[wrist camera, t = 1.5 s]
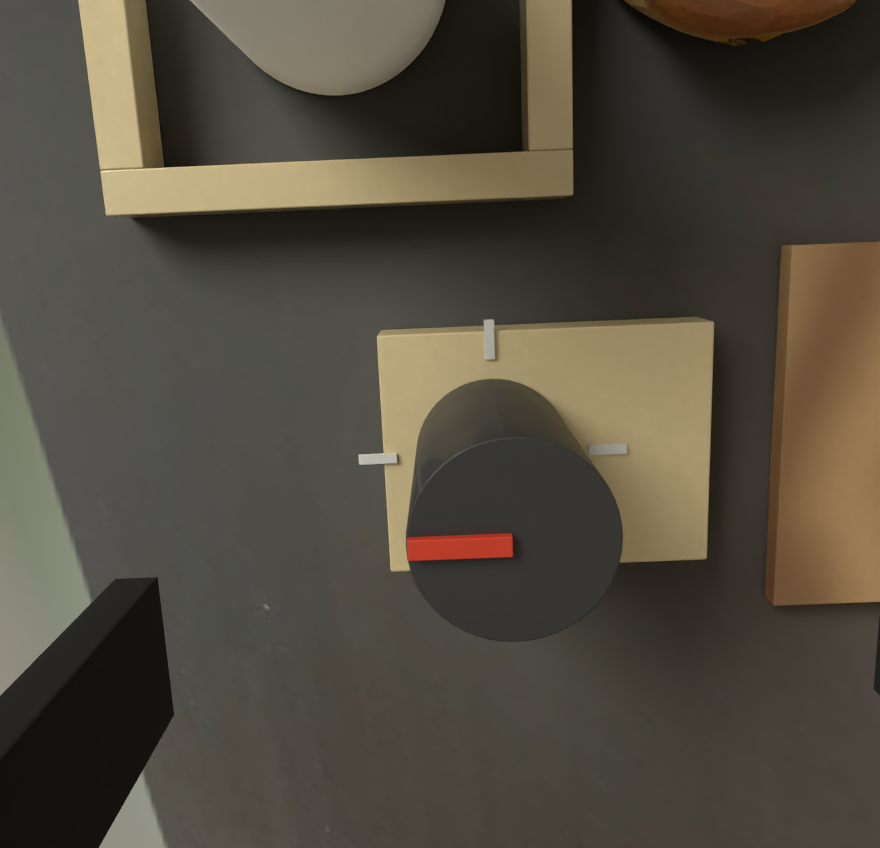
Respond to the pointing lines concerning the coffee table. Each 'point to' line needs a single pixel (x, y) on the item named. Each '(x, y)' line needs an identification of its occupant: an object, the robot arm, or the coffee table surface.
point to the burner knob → (508, 515)
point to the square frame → (327, 181)
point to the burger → (739, 17)
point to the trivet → (826, 428)
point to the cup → (327, 38)
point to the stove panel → (574, 413)
